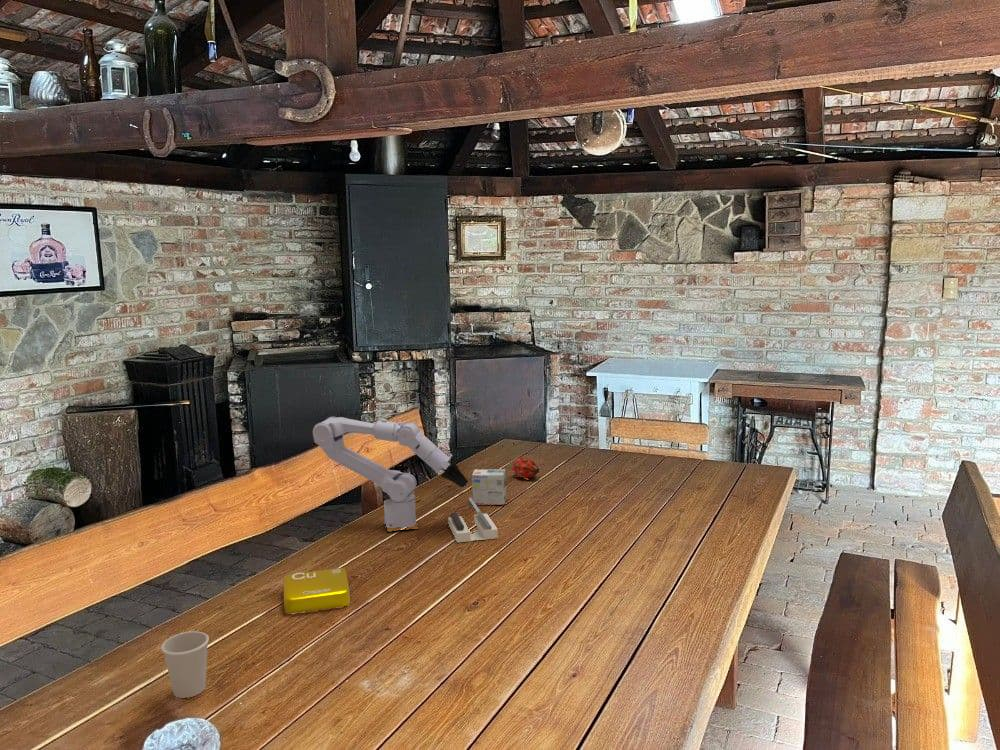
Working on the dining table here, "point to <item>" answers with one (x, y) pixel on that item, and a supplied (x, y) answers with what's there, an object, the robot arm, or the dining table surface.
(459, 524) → the dark grey rod
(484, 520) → the duct cover
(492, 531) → the base
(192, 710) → the dining table surface
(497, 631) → the dining table surface
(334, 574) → the element tile
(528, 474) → the dragon fruit
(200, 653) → the dixie cup
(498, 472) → the light bulb box
